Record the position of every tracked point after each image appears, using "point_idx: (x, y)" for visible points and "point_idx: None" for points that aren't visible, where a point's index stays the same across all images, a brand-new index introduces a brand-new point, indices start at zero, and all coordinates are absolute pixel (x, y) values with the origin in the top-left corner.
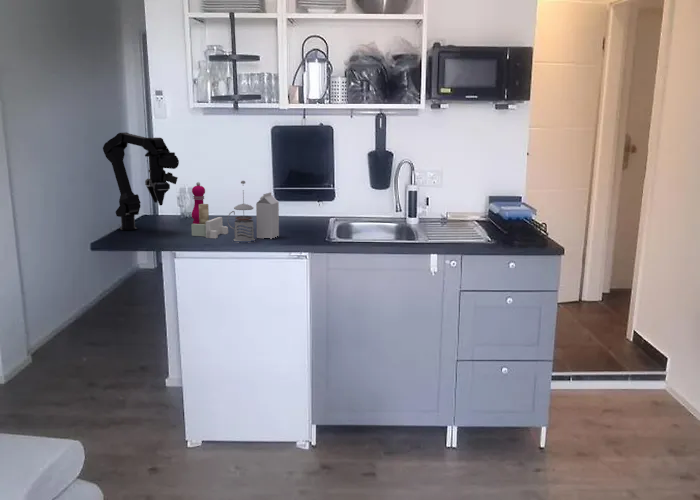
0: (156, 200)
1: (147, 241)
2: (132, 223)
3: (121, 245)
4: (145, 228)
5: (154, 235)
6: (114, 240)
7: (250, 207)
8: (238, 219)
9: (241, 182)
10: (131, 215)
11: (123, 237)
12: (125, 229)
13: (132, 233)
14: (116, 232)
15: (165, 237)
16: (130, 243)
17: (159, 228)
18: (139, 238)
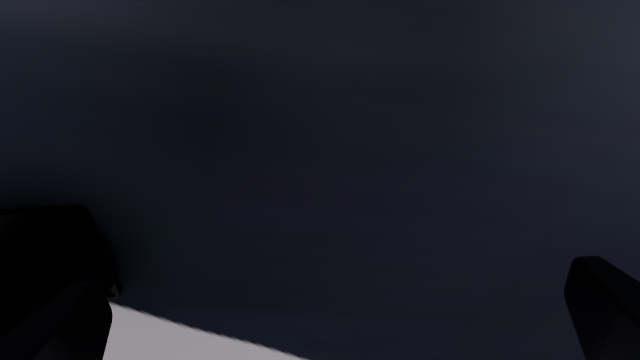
0: (83, 321)
1: (627, 198)
2: (83, 276)
3: None
4: (15, 137)
5: (401, 114)
6: (453, 350)
7: None
8: None
9: None
10: (7, 332)
11: (378, 306)
12: (114, 283)
13: (243, 248)
14: (174, 322)
15: (557, 35)
16: None
17: (19, 9)
18: (471, 231)
